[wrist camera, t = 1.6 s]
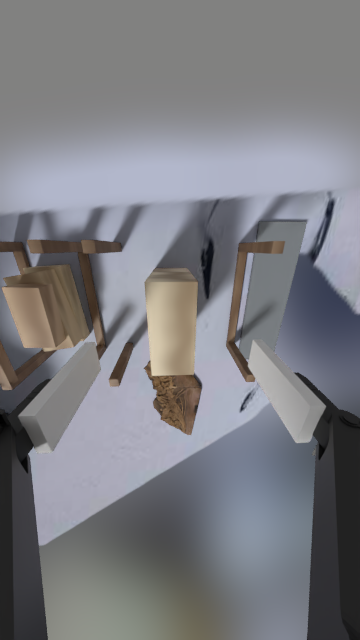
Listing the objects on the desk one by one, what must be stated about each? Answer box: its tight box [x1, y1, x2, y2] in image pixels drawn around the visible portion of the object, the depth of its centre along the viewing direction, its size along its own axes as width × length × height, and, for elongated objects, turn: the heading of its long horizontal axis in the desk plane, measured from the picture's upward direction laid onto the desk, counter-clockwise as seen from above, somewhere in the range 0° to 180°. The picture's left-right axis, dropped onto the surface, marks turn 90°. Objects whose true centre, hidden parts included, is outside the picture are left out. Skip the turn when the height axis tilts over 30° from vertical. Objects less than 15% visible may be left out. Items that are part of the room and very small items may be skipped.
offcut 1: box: [2, 283, 66, 348], centre depth 22 cm, size 4×8×2 cm, turn 178°
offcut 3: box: [23, 264, 90, 341], centre depth 28 cm, size 5×12×3 cm, turn 3°
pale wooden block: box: [145, 268, 198, 376], centre depth 24 cm, size 5×11×12 cm, turn 0°
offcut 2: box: [3, 269, 83, 352], centre depth 25 cm, size 5×11×3 cm, turn 9°
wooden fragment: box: [144, 361, 201, 435], centre depth 38 cm, size 26×11×1 cm, turn 8°
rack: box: [0, 240, 285, 390], centre depth 25 cm, size 34×18×10 cm, turn 90°
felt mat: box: [239, 221, 307, 359], centre depth 30 cm, size 7×24×1 cm, turn 0°
